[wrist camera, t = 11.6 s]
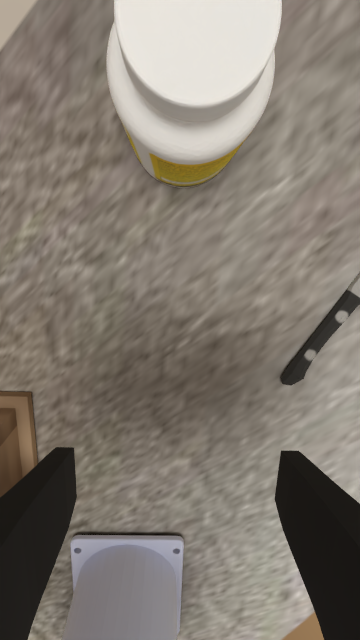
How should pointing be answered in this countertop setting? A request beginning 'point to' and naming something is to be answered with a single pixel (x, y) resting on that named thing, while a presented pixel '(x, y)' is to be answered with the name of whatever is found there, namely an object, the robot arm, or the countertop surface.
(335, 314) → the chef's knife
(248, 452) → the countertop surface
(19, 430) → the wooden peg socket
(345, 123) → the countertop surface
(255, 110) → the supplement bottle
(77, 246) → the countertop surface
